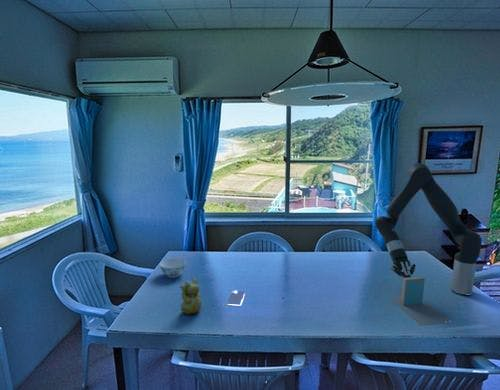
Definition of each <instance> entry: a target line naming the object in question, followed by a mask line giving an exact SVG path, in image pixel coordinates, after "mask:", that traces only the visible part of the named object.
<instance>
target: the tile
mask: <svg viewBox="0 0 500 390" xmlns="http://www.w3.org/2000/svg"><path fill="white" fill-rule="evenodd" d="M425 281H426V278H425V277H424V276H413V277H412V276H411V277H410V278H404V277H402V289H401V298H400V299H401V304H402V305H413V304H422V300H424V299H423V298H424V290H425V289H424V288H425Z"/></svg>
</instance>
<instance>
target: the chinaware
mask: <svg viewBox="0 0 500 390" xmlns="http://www.w3.org/2000/svg"><path fill="white" fill-rule="evenodd" d="M186 266H187V260H186V259H185V258H181V257H180V258H179V257H172V258H171V257H170V258H166V259H164V260H162V261H160V262H159V267H160V270H161V271H162V273H164V275H166V276H167V277H168V278H171V279H172V278H173V279H174V278H178V277H179V276H180V274H182V273H183V272H184V270H185V268H186Z"/></svg>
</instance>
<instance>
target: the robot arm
mask: <svg viewBox="0 0 500 390" xmlns="http://www.w3.org/2000/svg"><path fill="white" fill-rule="evenodd" d="M408 175H409V178H408V181H407V183H406V185H405V186H404V187H403V189H402V190H401V191H400V192H399V193H398V194H397V195H395V197H394V198H393V199H392V201H391V202H390V204H389V205H388V206H387V207H386V213H387V214H388V216H383V215H380V216H378V217H376V218H375V221H374V223H375V228H376V230H377V231H378V232H379V234H380V235H381V237H382V238H383V240H384V242H385V245H386V248H387V251H388V255H389V256H390V260H391V261H392V264H393V265H392V266H391V267H390V270H392V271H393V272H394V273H395V274H396V275H398V276H399V277H402V278H410V277H412V275H413V274H415V273H414V272H415V269H416V264H415V263H411V261H410V260H409V259H408V257H409V256H408V255H407V252H406V250H405V247H404V245H403V244H402V242H401V239H400V237H399V235H398V232H396V231H395V230H393V229H394V228H395V227H396V225H397V223H398V220H399V219H400V218H399V217H400V215H401V214H402V213H403V211H404V210H405V209H406V207H407V206H408V205H409V203H410V202H411V200H412V199H413V198H414V197H415V196H416V194H418V192H419V191H420V190H421V191H422V192H423V194H424V196H425V198H426V200H427V202H428V204H429V205H430V207H431V209H432V210H433V212H434V213H435V214H436V215H437V216H438V217H439V219H440V220H441V222H442V223H443V224H444V225H445V226H446V228H447V229H448V230H449V232H450V234H451V236H452V238H453V240H454V242H456V244H457V245H459V246H460V248H459V252H456V253H455V254H454V262H453V270H452V277H451V284H450V285H451V286H450V290H451V289H452V290H453V291H455V292H458V293H461V294H471V293H472V294H473V291H474V290H473V289H474V282H475V275H476V268H477V261H478V259H479V258H480V254H481V249H482V242H483V241H482V237H481V236H480V234H479V233H477V232H475V231H473V230H471V229H469V228H468V227H467V225H465V223H464V222H463V221H462V219H461V218H460V215H459V211H458V209H457V206H456V205H455V203H454V202H453V200H452V198H450V196H449V195H448V194H447V192H445V190H444V189H442V187H441V186H440V185H439V184H438V183H437V182H436V180H435V179H434V176H433V175H432V172H431V170H430V168H429V167H428V165H426V164H424V163H420V162H419V163H417V162H416V163H414V164H412V165H410V168H409V170H408Z"/></svg>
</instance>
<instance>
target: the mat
mask: <svg viewBox="0 0 500 390" xmlns="http://www.w3.org/2000/svg"><path fill="white" fill-rule="evenodd" d="M390 302H392V303H393V304H394V305H395V306H397V307H398V308H399V309H400V310H402V311H403V312H404V313H405V314H406V315H408V316H409V317H410V318H412V320H414V321H415V322H416V323H418V325H420V326H431V325H432V326H433V325H441V324H442V323H443V324H446V323H445V321H447V322H449V320H450V321H452V322H453V321H454V320H453V319H451V318H450V317H448V316H447V315H446V314H443V313H442V312H441V311H439V310H438V309H437V308H435V307H434V306H432V305H431V304H430V303H428V302H427V301H426V300H424V299H423V300H422V304H413V305H402V304H401V298H395V299H394V298H393V299H390ZM453 323H454V322H453Z"/></svg>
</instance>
